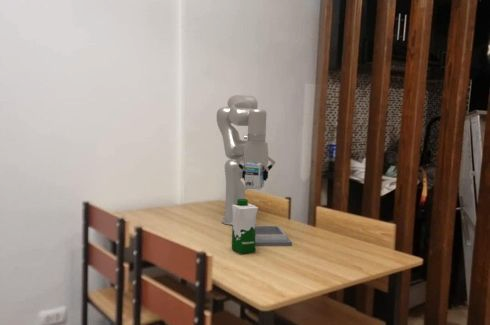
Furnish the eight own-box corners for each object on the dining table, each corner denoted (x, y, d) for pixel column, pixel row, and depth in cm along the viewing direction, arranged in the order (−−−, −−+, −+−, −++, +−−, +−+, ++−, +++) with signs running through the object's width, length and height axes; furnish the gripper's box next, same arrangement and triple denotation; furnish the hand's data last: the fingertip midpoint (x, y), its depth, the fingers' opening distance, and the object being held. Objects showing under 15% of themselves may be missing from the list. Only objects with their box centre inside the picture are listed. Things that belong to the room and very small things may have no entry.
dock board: (240, 233, 195) (240, 230, 195) (281, 233, 198) (281, 229, 198) (246, 246, 176) (246, 242, 176) (291, 245, 179) (292, 242, 179)
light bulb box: (259, 190, 178) (260, 163, 177) (243, 188, 179) (244, 162, 178) (264, 185, 188) (265, 161, 187) (249, 184, 190) (250, 160, 188)
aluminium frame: (245, 231, 193) (245, 225, 193) (278, 231, 196) (279, 225, 195) (250, 241, 178) (250, 235, 178) (286, 241, 180) (287, 235, 180)
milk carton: (247, 246, 177) (249, 197, 174) (258, 252, 169) (260, 202, 166) (228, 248, 173) (230, 199, 170) (238, 255, 165) (240, 203, 162)
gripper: (236, 138, 177) (235, 181, 179) (278, 140, 179) (276, 182, 181) (235, 137, 184) (233, 178, 186) (275, 139, 186) (273, 179, 188)
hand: (254, 179), depth 183 cm, fingers closed on light bulb box, 8 cm apart
